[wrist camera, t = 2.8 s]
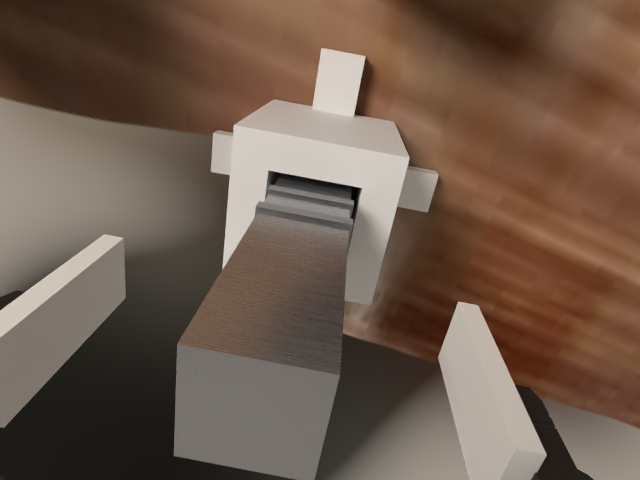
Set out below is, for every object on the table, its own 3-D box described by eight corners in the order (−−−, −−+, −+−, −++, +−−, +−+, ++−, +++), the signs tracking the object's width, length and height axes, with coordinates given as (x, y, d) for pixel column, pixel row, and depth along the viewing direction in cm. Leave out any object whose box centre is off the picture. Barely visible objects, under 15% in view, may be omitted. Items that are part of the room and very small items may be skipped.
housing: (224, 29, 30) (156, 22, 20) (464, 74, 30) (517, 89, 20) (210, 245, 37) (155, 319, 27) (403, 282, 37) (419, 369, 27)
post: (299, 138, 32) (171, 337, 10) (356, 148, 32) (347, 371, 10) (291, 192, 34) (168, 458, 12) (345, 202, 34) (317, 487, 12)
